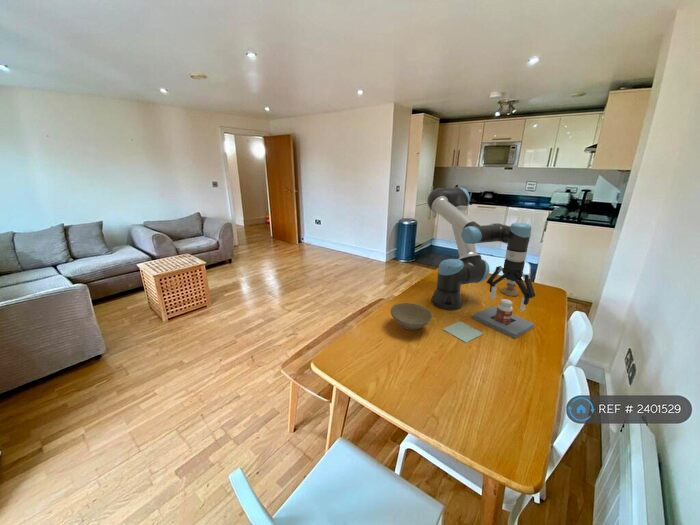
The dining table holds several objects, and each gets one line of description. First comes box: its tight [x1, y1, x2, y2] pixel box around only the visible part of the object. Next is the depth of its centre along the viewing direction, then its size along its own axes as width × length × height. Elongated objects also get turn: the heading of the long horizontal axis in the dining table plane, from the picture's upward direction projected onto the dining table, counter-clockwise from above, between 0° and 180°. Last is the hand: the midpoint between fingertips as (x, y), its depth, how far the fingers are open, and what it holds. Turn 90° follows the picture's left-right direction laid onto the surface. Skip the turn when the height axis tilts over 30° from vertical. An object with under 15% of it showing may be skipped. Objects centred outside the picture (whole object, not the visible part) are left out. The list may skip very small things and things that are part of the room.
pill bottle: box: [494, 298, 514, 325], centre depth 127 cm, size 6×6×11 cm
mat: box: [442, 321, 484, 344], centre depth 122 cm, size 12×12×1 cm
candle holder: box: [500, 279, 519, 297], centre depth 156 cm, size 9×9×20 cm
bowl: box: [389, 302, 433, 331], centre depth 124 cm, size 18×18×8 cm
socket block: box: [472, 305, 536, 340], centre depth 129 cm, size 20×16×2 cm
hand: (506, 304), depth 126 cm, fingers open, 13 cm apart
